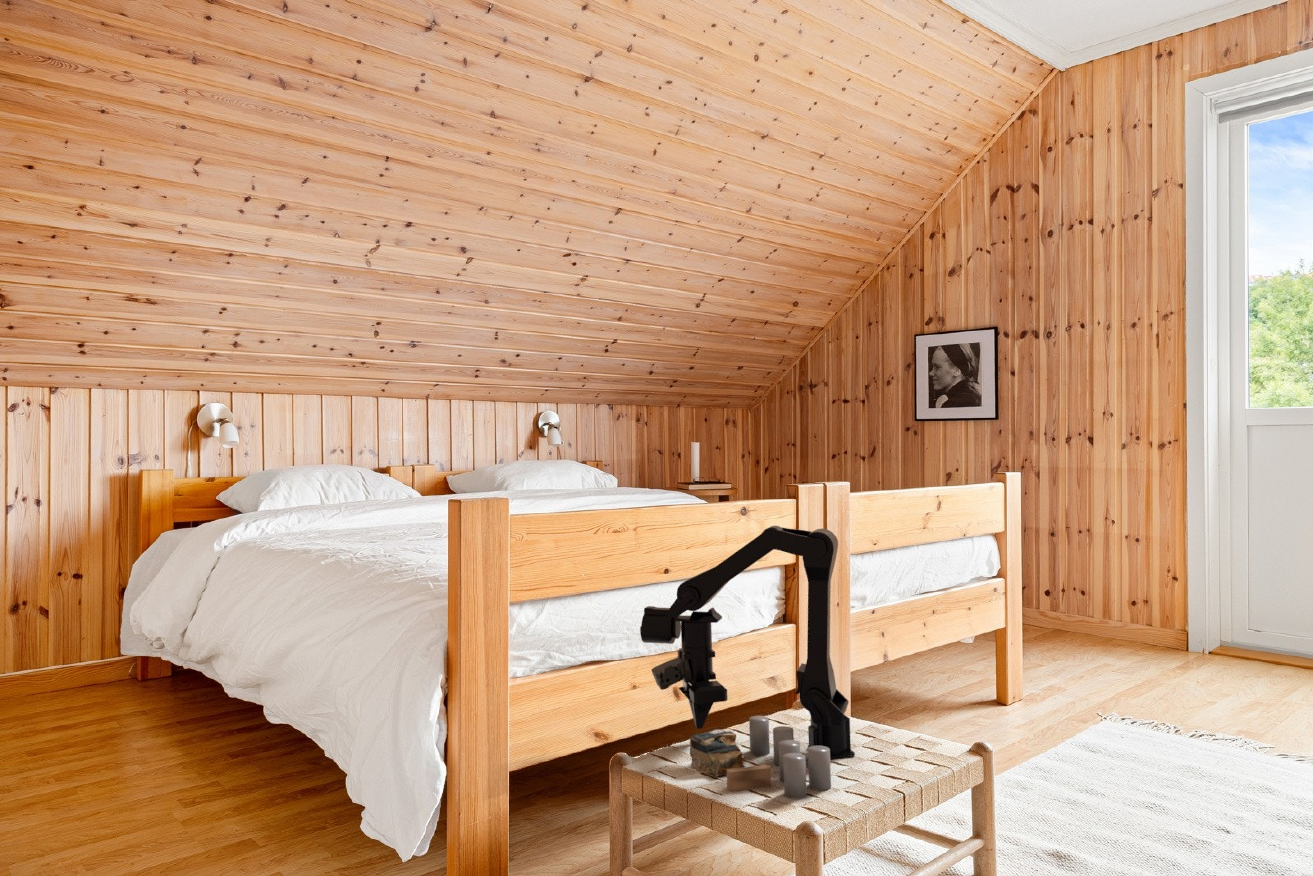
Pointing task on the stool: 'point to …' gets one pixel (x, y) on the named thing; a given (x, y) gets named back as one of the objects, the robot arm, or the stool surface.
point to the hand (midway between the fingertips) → (699, 728)
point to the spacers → (791, 758)
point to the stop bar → (748, 777)
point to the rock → (715, 752)
